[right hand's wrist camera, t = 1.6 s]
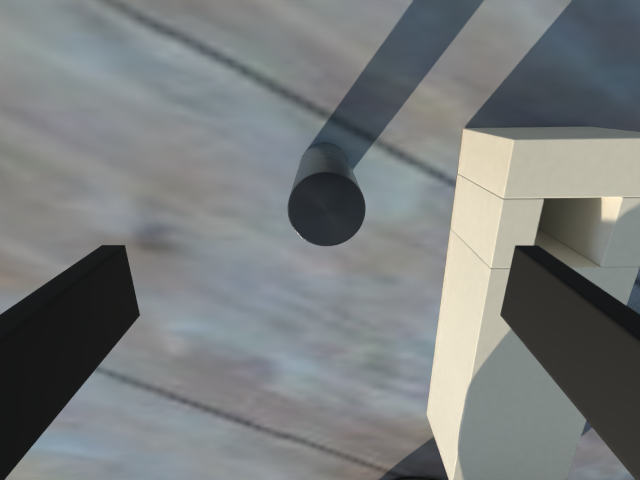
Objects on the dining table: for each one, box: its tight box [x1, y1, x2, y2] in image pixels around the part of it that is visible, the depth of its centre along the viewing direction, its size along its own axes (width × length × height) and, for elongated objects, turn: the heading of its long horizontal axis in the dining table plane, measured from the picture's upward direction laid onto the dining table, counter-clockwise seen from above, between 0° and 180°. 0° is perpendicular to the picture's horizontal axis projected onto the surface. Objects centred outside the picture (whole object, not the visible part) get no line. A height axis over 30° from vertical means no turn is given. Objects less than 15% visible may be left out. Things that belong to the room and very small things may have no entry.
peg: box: [288, 143, 365, 246], centre depth 24 cm, size 4×4×12 cm
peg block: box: [427, 127, 640, 480], centre depth 30 cm, size 30×10×8 cm, turn 1°
